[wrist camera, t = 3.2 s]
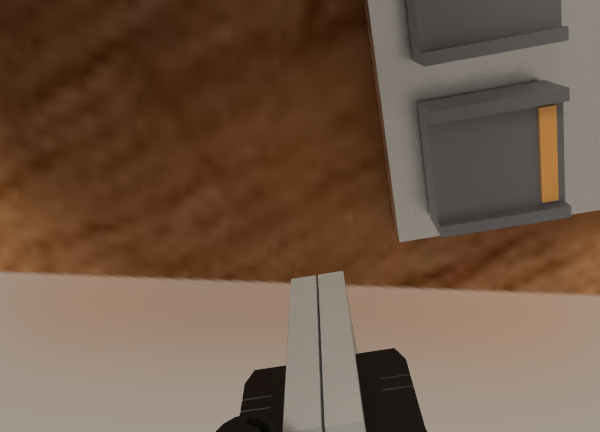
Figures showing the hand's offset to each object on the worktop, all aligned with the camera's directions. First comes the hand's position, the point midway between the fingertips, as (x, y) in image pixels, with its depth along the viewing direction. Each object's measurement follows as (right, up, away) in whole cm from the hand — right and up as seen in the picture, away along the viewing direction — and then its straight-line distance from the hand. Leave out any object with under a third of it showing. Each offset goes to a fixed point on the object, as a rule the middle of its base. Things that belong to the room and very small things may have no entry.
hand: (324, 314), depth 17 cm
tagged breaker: (+9, +6, +13) cm, 17 cm away
